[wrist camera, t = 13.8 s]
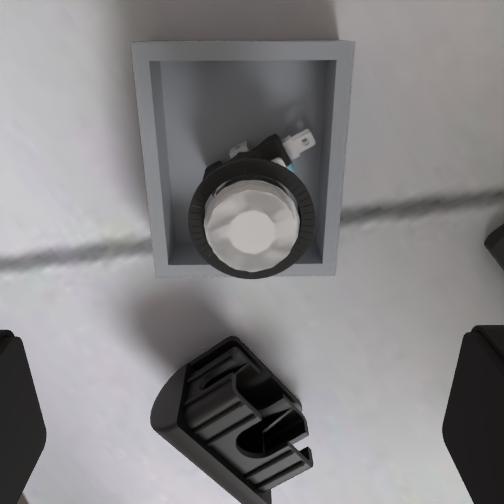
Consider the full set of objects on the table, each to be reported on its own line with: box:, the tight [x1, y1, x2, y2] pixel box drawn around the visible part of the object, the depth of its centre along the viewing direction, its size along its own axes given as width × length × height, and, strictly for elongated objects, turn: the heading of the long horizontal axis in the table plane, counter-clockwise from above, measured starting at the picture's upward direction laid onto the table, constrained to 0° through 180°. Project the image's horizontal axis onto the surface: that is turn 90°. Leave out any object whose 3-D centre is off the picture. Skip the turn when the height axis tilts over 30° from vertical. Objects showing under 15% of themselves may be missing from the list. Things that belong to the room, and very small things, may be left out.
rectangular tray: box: [130, 40, 355, 277], centre depth 26 cm, size 11×13×4 cm
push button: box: [188, 129, 316, 279], centre depth 23 cm, size 7×5×10 cm
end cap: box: [150, 336, 313, 504], centre depth 33 cm, size 10×7×7 cm
